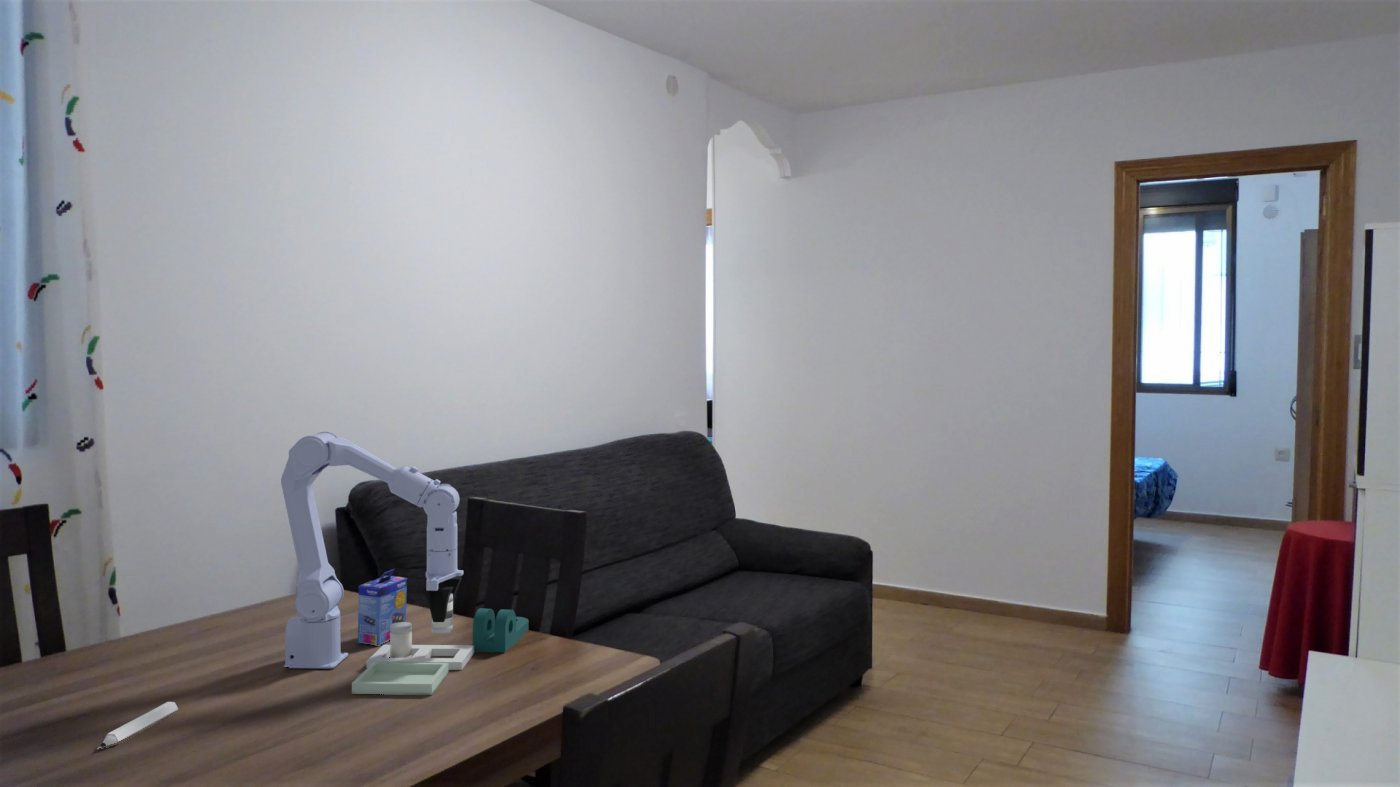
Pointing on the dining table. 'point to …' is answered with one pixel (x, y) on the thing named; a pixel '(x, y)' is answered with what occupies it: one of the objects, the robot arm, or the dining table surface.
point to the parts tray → (400, 678)
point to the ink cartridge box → (381, 608)
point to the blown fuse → (448, 623)
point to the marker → (139, 723)
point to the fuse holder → (428, 655)
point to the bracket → (497, 630)
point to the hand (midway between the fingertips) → (442, 618)
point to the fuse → (401, 640)
